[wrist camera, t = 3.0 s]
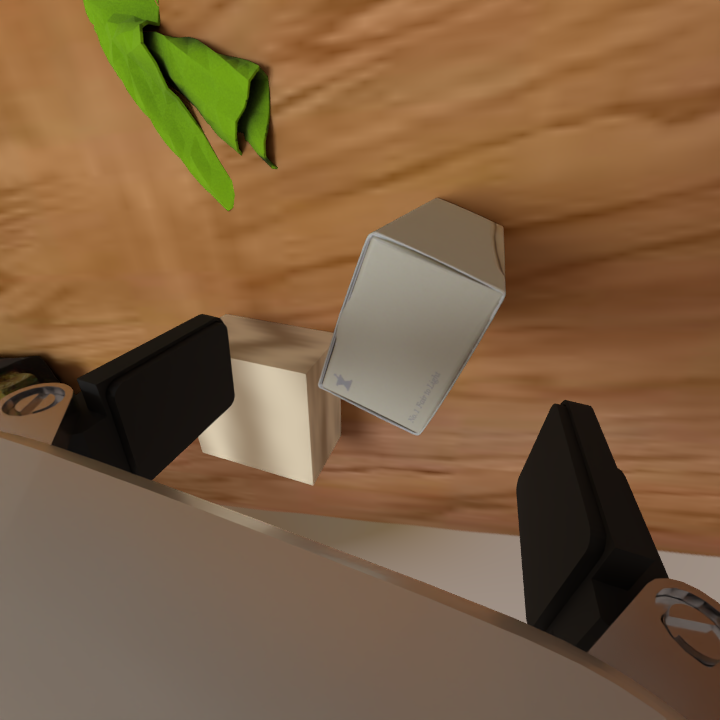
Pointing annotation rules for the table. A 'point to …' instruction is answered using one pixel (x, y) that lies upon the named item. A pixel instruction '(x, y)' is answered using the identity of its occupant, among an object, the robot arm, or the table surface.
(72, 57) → the table surface
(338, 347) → the skincare box
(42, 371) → the packaged item
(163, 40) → the cloth
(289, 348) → the maple block
